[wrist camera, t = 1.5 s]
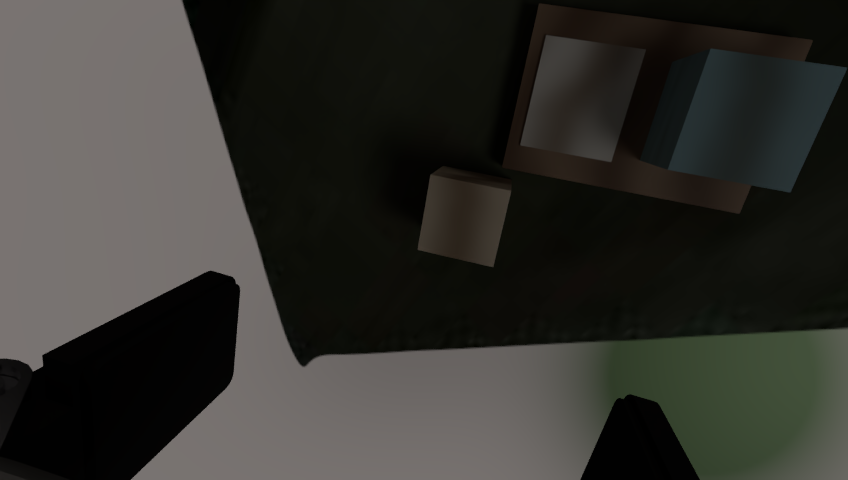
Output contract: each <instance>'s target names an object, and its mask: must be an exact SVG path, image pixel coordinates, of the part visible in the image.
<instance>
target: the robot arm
mask: <svg viewBox="0 0 848 480" xmlns="http://www.w3.org/2000/svg"><path fill="white" fill-rule="evenodd" d="M239 298H240V287H239V285H237V284H236V282H235V279H234V278H233V277H231V276H227V275H224V274H221V273H217V272H214V271H208V272H206V273H204V274H202V275H200V276H198V277H196V278H194V279H192V280H190V281H188V282H186V283H184V284H182V285H180V286H178V287H176V288H174V289H172V290H170V291H168V292H166V293H164V294H162V295H160V296H158V297H156V298H154V299H152V300H150V301H148V302H146V303H144V304H143V305H140V306H138V307H136V308H135V309H133V310H131V311H129V312H127V313H125V314H123V315H121V316H119V317H117V318H115V319H113V320H111V321H109V322H107V323H105V324H103V325H101V326H99V327H97V328H95V329H93V330H91V331H89V332H87V333H86V334H83V335H81V336H79V337H77V338H75V339H73V340H71V341H69V342H68V343H65V344H63V345H62V346H59V347H58V348H56V349H54V350H52V351H50V352H48V353H46V354H44V355H43V356H42V357H43V367H41V368H39V369H37V370H36V371H34V372H33V371H32V369H31V368H30V367H29V365H27V364H25V363H23V362H21V361H18V360H11V359H0V480H131V479H132V478H133V477H134V476H135V475H136V474H137V473H138V472H139V471H140V470H141V469H142V468H143V467H144V466H145V465H146V464H147V463H148V462H150V461H151V460H152V459H153V458H154V457H155V456H156V455H157V454H158V453H159V452H160V451H161V450H162V449H163V448H164V447H165V446H166V445H167V444H168V443H169V442H170V441H171V440H172V439H174V438H175V437H176V436H177V435H178V434H179V433H180V432H181V431H182V430H183V429H184V428H185V427H186V426H187V425H188V424H189V423H190V422H191V421H192V420H193V419H194V418H195V417H196V416H197V415H198V414H200V413H201V412H202V411H203V410H204V409H205V408H206V407H207V406H208V405H209V404H210V403H211V402H212V401H213V400H214V399H215V398H216V397H217V396H218V395H219V394H220V393H222V392H223V391H224V390H225V389H226V388H227V386H228V385H229V383H230V382H231V380H232V377H233V372H234V359H235V348H236V334H237V323H238V310H239ZM581 480H700V479H699V477H698V476H697V474H696V472H695V470H694V468H693V467H692V465H691V463H690V461H689V459H688V457H687V455H686V453H685V452H684V450H683V448H682V446H681V444H680V442H679V441H678V439H677V437H676V435H675V433H674V432H673V430H672V428H671V426H670V424H669V422H668V420H667V418H666V417H665V415H664V413H663V411H662V409H661V407H660V406H659V404H658V403H657V402H654V401H651V400H647V399H644V398H641V397H637V396H634V395H627V396H626V397H625V398H624V399H621V398H618V399H617V400H616V401H615V403H614V405H613V407H612V410H611V412H610V414H609V416H608V419H607V421H606V423H605V425H604V428H603V430H602V432H601V434H600V437H599V439H598V441H597V444H596V446H595V448H594V450H593V453H592V455H591V457H590V459H589V462H588V464H587V466H586V468H585V471H584V473H583V475H582V477H581Z"/></svg>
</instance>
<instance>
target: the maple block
mask: <svg viewBox="0 0 848 480" xmlns="http://www.w3.org/2000/svg"><path fill="white" fill-rule="evenodd" d="M510 194H511V179H507V178H502V177H497V176H492V175H487V174H482V173H477V172H472V171H467V170H462V169H457V168H452V167H447V166H442V167H441V168H439V169H438V170H437V171H435V172H434V173H432V174H431V175H430V181H429V187H428V192H427V198H426V204H425V210H424V216H423V222H422V227H421V233H420V239H419V245H418V250H421V251H425V252H429V253H434V254H438V255H442V256H447V257H451V258H456V259H460V260H464V261H469V262H473V263H477V264H482V265H486V266H490V267H493V265H494V261H495V257H496V253H497V249H498V244H499V240H500V236H501V232H502V228H503V223H504V219H505V215H506V211H507V207H508V202H509V198H510Z"/></svg>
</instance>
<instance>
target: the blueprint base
mask: <svg viewBox="0 0 848 480" xmlns="http://www.w3.org/2000/svg"><path fill="white" fill-rule="evenodd" d="M812 42H813V40H808V39H800V38H793V37H785V36H778V35H771V34H763V33H756V32H748V31H741V30H733V29H726V28H719V27H711V26H704V25H696V24H689V23H681V22H674V21H667V20H659V19H652V18H644V17H637V16H629V15H622V14H615V13H607V12H600V11H592V10H585V9H578V8H570V7H563V6H555V5H548V4H540V3H539V6H538V11H537V15H536V20H535V24H534V28H533V33H532V37H531V42H530V46H529V50H528V55H527V59H526V64H525V68H524V72H523V77H522V81H521V86H520V90H519V95H518V99H517V103H516V108H515V112H514V117H513V121H512V125H511V130H510V134H509V139H508V143H507V147H506V152H505V156H504V161H503V165H502V168H507V169H512V170H517V171H522V172H527V173H533V174H538V175H543V176H548V177H553V178H558V179H563V180H569V181H574V182H579V183H584V184H589V185H594V186H599V187H605V188H610V189H615V190H620V191H625V192H630V193H635V194H641V195H646V196H651V197H656V198H661V199H666V200H671V201H677V202H682V203H687V204H692V205H697V206H702V207H707V208H713V209H718V210H723V211H728V212H733V213H738V214H739V213H740V211H741V209H742V206H743V204H744V202H745V199H746V197H747V195H748V192H749V190H750V187H751V185H753V186H758V187H764V188H769V189H775V190H780V191H786V192H791V190H792V187H793V185H794V183H795V181H796V179H797V177H798V174H799V172H800V170H801V168H802V166H803V163H804V161H805V159H806V157H807V155H808V153H809V150H810V148H811V146H812V144H813V142H814V140H815V137H816V135H817V133H818V131H819V129H820V126H821V124H822V122H823V120H824V118H825V116H826V113H827V111H828V109H829V107H830V105H831V102H832V100H833V98H834V96H835V94H836V92H837V89H838V87H839V85H840V83H841V81H842V78H843V76H844V74H845V72H846V70H847V68H845V67H838V66H831V65H824V64H817V63H810V62H804V61H805V58H806V56H807V54H808V51H809V49H810V47H811V44H812Z"/></svg>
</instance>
